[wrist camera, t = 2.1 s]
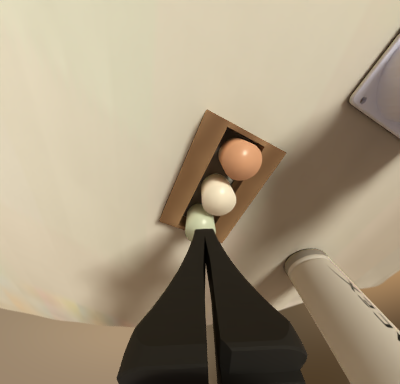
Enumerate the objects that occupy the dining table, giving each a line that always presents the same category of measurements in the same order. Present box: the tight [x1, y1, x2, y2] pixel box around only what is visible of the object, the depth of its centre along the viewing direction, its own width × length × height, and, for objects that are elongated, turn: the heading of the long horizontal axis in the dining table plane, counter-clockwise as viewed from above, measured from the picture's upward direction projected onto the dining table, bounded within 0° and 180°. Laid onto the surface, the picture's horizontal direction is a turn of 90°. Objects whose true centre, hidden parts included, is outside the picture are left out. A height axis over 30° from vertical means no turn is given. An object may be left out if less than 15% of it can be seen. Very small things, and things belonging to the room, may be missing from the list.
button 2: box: [218, 138, 262, 181], centre depth 13 cm, size 3×3×3 cm
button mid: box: [201, 174, 236, 216], centre depth 14 cm, size 3×3×3 cm
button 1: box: [185, 203, 216, 242], centre depth 16 cm, size 3×3×3 cm
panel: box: [159, 110, 286, 243], centre depth 16 cm, size 8×12×2 cm, turn 155°
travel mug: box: [285, 249, 400, 384], centre depth 14 cm, size 6×7×20 cm
